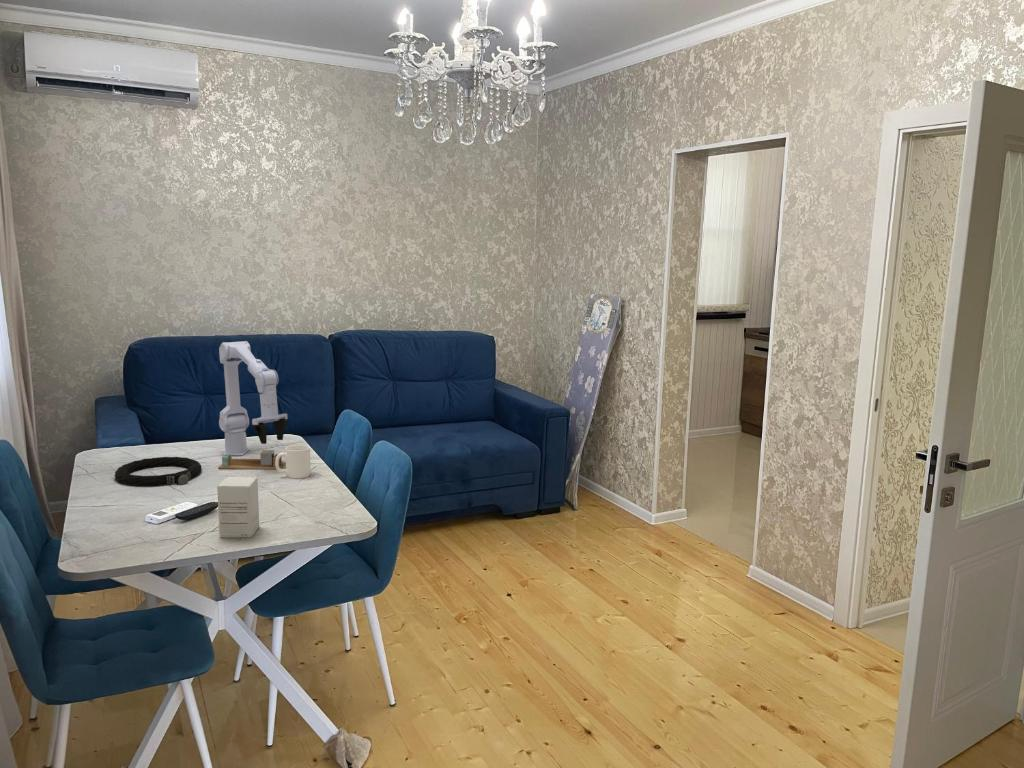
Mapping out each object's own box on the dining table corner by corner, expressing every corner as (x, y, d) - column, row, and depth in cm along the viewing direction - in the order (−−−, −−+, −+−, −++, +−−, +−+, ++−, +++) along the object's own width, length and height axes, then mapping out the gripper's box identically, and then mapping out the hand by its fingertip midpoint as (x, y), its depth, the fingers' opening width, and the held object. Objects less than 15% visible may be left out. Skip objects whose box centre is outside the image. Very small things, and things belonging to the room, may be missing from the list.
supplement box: (228, 526, 216) (226, 476, 213) (260, 526, 216) (258, 476, 214) (218, 538, 207) (216, 485, 204) (251, 538, 207) (249, 486, 205)
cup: (313, 477, 264) (312, 449, 263) (278, 481, 258) (277, 452, 257) (306, 471, 271) (306, 443, 270) (273, 475, 265) (272, 447, 264)
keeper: (263, 462, 277) (263, 450, 277) (274, 462, 278) (274, 450, 277) (260, 465, 273) (260, 453, 272) (271, 465, 274) (271, 453, 273)
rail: (224, 463, 278) (224, 452, 277) (285, 463, 280) (285, 452, 279) (218, 469, 270) (217, 458, 270) (280, 469, 272) (280, 458, 271)
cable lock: (175, 451, 280) (221, 466, 262) (176, 461, 281) (221, 476, 263) (98, 466, 258) (142, 483, 241) (99, 477, 259) (143, 495, 241)
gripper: (260, 407, 260) (264, 445, 262) (292, 401, 273) (295, 438, 274) (246, 406, 264) (250, 444, 265) (278, 401, 276) (281, 438, 278)
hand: (272, 441), depth 270 cm, fingers open, 7 cm apart
